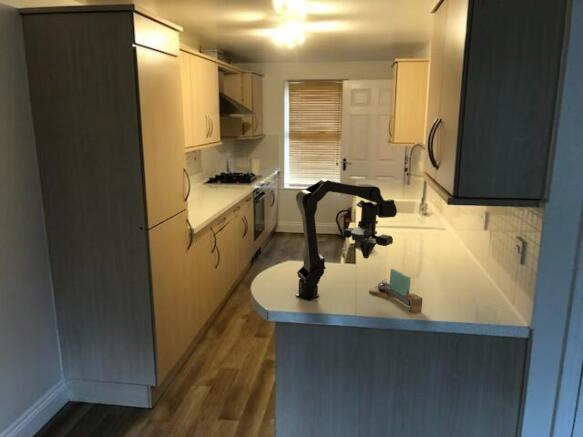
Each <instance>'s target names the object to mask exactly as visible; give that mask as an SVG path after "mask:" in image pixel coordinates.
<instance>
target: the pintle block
mask: <svg viewBox="0 0 583 437" xmlns="http://www.w3.org/2000/svg"><path fill="white" fill-rule="evenodd" d="M368 293H369V294H371V295H374V296H378V297H381V298H384V299H387V300H388V299H390V298H391V297H392V296H391V295H389V294H387V293H386V292H384V291H380V290H378V285H376V286H375V287H373V288H371V289H368ZM392 298H393V297H392Z"/></svg>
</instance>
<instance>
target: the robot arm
mask: <svg viewBox="0 0 583 437" xmlns="http://www.w3.org/2000/svg"><path fill="white" fill-rule="evenodd" d="M329 192H331V193H338V194H341V195H343V194H344V195H349V196H356V197H359V198H361V199H360V200H359V202H357V203H356V206H357V207H358V208H361V210H360V211H361V212H360V215H361V216H360V220H359V221H358V222H357V224H358V225H357V226H356V227H348V228H345V229H344V230H343V231H342V237H344V238H345V239H346V238H347V239H350V238H351V240H352V241H354V243H355V242H357V243H358V244H359V245H360V251H361V253H362V258H363V259H366V260H367V259H369V257H370V255H371V254H372V252H373V250H374V248H375V247H376V245H377V246H383V247H387V246H390V245H392V244H393V243H394V239H393V237H392V235H388V234H387V235H386V234H385V233H384V234H380V235H378V231H377V230H376V228H377V225H378V224H379V221H378V220H377V217H378V218H379V219H385V218H395V217H396V216H397V213H398V212H397V211H398V209H397V205H396V203H395V200H394V199H384V198H383V195H382V194H381V189H380V188H379V187H378V186H375V185H372V184H368V183H365V184H363V183H362V184H361V183H359V184H351V183H350V184H349V183H346V182H345V183H344V182H339V181H333V180H329V179H325V178H322V179H320V180H319V181H317V182H316V183H314V184H312V185H310V186H308V187H307V188H305V189H302V190H300V191H299V192H297V194H296V196H295V201H296V205H297V208H298V210H299V213H300V215H301V219H302V228H303V229H302V230H303V239H304V248H305V254H304V257H303V265H302V266H301V268H300V269H299V270H298V271H296V274H297V277H298V278H299V279H298V293H297V294H295V297H298V298H300V299H303V300H306V301H309V302H310V301H312V300H314V299H316V298H319V296H320V294H319V293H318V292H319V285H318V284H319V283H320V280H321V277H323V275H324V274H325V270H326V269H327V268H326V266H325V261H326V260H325V258H324V257H323V256H322V255H321V254H320V253H319V249H318V247H319V244H318V236H317V227H316V226H317V225H316V217H315V216H316V213H317V210H318V203H319V202H320V201H322V199H324V198H325V196H326V195H327V194H328V193H329ZM362 199H363V200H362ZM365 200H366V201H365ZM368 240H369V242H368Z"/></svg>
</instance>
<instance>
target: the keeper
mask: <svg viewBox="0 0 583 437" xmlns="http://www.w3.org/2000/svg"><path fill="white" fill-rule="evenodd" d="M405 298H406V299H408V300H410V306H409V311H408V312H410V313H411V314H413V315H414V314H419V313H422V311H423V310H422V309H423V308H422V307H423V299H424V298H423V297H421V296H419V294H416V293H414V292H413V293H409V294H405Z"/></svg>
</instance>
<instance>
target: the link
mask: <svg viewBox="0 0 583 437" xmlns="http://www.w3.org/2000/svg"><path fill="white" fill-rule="evenodd" d="M389 275H390V276H389V283H388V280H387V278H382V279H381V282H378V284H377V286H378V290H380V291H384V292H386V293H387V294H389V295H391V296H392V298H394V299H396V300H398V301H399V302H401V303H403V304H404V305H406V306H407V307H410V300H408V299H406V298H405V294H410V290H411V289H410V288H411V277H410V276H408V275H407V274H405V273H403V272H401V271H399V270H397V269H395V268H391V269H390V274H389Z"/></svg>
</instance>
